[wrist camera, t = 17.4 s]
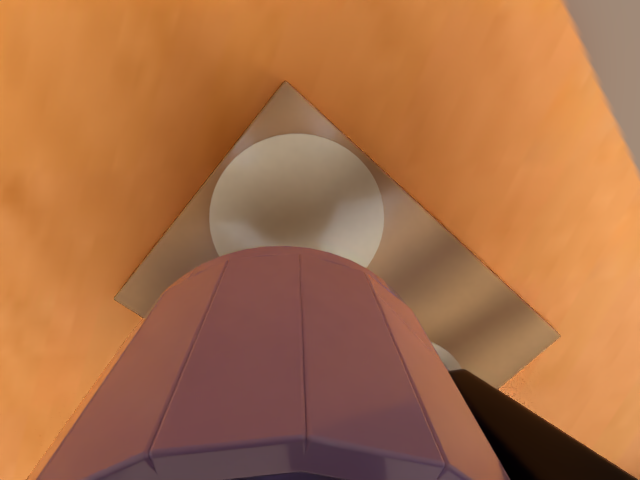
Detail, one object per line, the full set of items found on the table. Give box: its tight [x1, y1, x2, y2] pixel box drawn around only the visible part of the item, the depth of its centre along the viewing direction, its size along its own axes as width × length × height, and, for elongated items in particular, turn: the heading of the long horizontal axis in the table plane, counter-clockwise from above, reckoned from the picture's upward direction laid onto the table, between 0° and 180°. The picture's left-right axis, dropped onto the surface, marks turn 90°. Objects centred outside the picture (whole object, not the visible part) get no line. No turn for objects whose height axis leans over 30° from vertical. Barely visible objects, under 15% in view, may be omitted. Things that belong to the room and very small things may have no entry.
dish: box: [26, 246, 511, 480], centre depth 6 cm, size 6×6×4 cm
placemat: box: [114, 81, 560, 389], centre depth 18 cm, size 18×12×1 cm, turn 49°
